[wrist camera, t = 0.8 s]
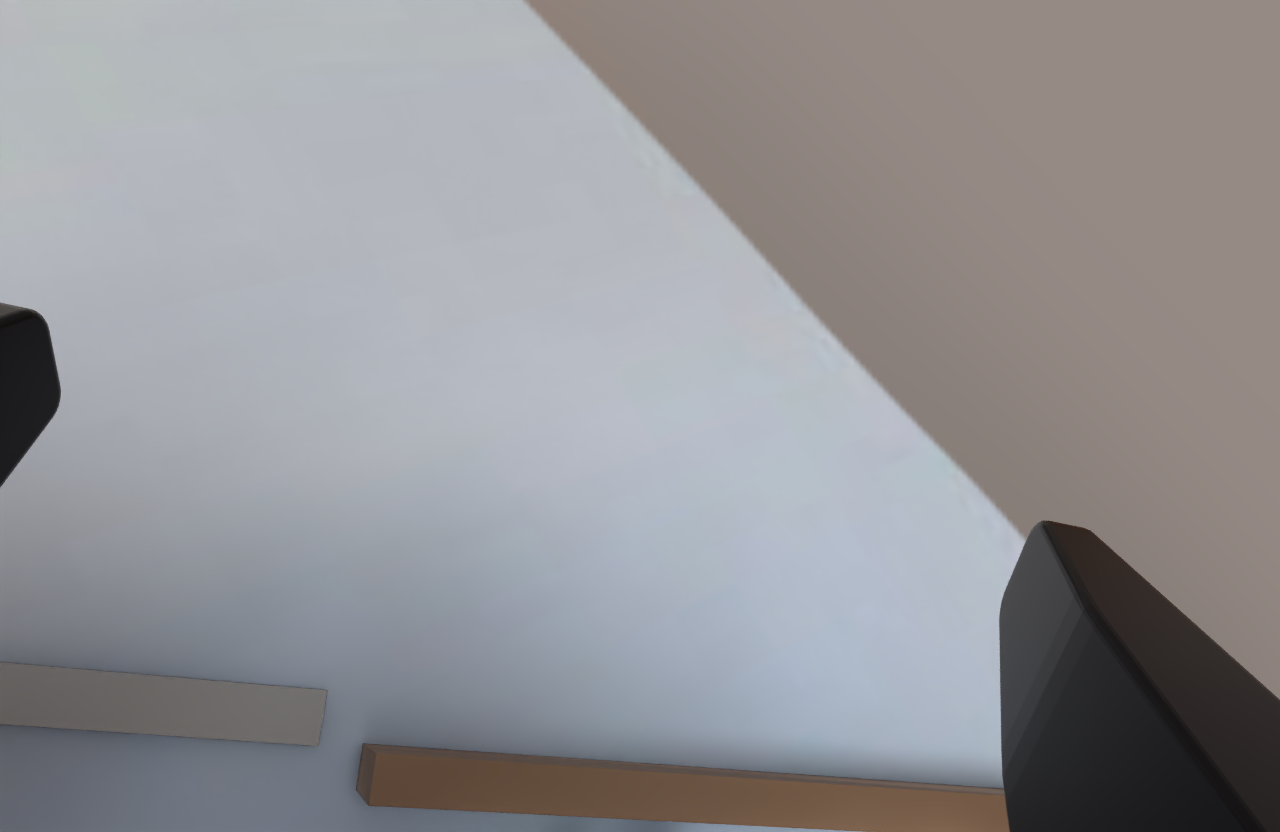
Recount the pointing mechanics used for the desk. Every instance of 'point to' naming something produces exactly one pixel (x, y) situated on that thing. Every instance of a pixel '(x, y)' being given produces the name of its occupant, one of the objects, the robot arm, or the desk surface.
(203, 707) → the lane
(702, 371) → the desk surface
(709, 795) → the wooden frame
